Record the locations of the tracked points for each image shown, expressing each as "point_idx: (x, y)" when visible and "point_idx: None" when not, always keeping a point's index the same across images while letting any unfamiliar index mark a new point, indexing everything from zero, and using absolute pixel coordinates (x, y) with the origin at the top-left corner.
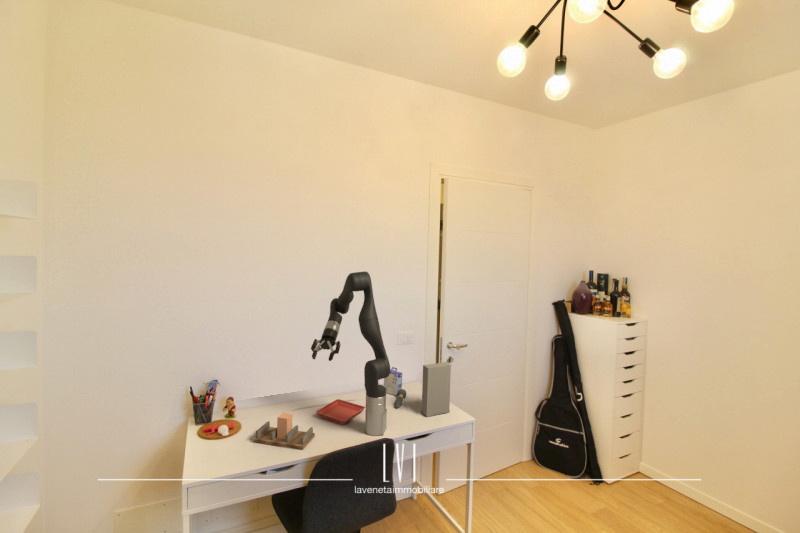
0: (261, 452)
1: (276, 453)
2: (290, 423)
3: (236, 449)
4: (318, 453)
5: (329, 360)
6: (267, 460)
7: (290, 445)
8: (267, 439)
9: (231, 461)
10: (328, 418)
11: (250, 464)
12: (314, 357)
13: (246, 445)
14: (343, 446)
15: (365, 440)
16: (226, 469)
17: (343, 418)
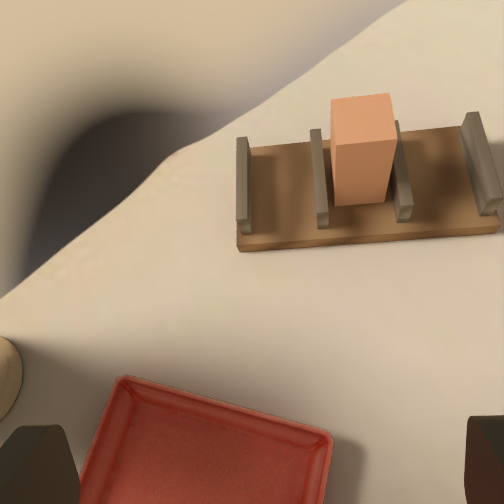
0: None
1: (323, 113)
2: (333, 157)
3: (489, 84)
4: (175, 160)
5: (66, 465)
6: (327, 77)
7: (292, 145)
8: (410, 141)
9: (440, 37)
10: (236, 418)
11: (366, 47)
12: (478, 474)
13: None
14: (96, 225)
15: (16, 292)
16: (419, 10)
17: (156, 462)
